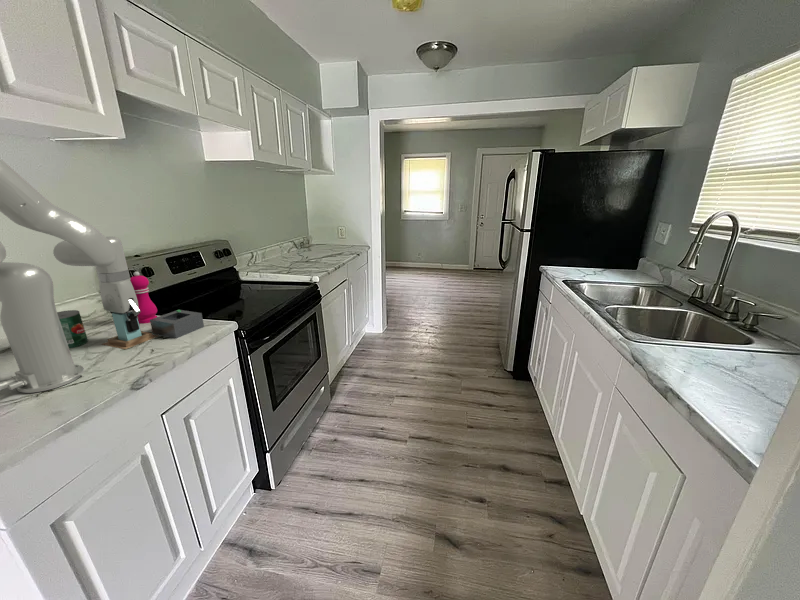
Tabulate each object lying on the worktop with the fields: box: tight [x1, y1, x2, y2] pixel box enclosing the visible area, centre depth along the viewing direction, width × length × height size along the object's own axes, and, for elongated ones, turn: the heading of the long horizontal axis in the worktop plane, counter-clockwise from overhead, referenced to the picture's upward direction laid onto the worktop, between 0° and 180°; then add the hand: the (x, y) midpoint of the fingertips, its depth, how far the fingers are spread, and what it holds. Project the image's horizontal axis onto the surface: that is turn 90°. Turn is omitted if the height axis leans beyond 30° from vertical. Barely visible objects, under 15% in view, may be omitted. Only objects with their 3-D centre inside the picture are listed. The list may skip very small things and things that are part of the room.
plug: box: [111, 309, 142, 341], centre depth 108 cm, size 4×4×11 cm
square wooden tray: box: [101, 330, 159, 350], centre depth 109 cm, size 11×11×2 cm
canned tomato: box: [57, 309, 89, 349], centre depth 104 cm, size 8×8×11 cm
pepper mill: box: [130, 271, 158, 325], centre depth 123 cm, size 7×7×20 cm
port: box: [149, 309, 205, 339], centre depth 117 cm, size 11×11×6 cm
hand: (128, 329), depth 108 cm, fingers closed on plug, 4 cm apart
